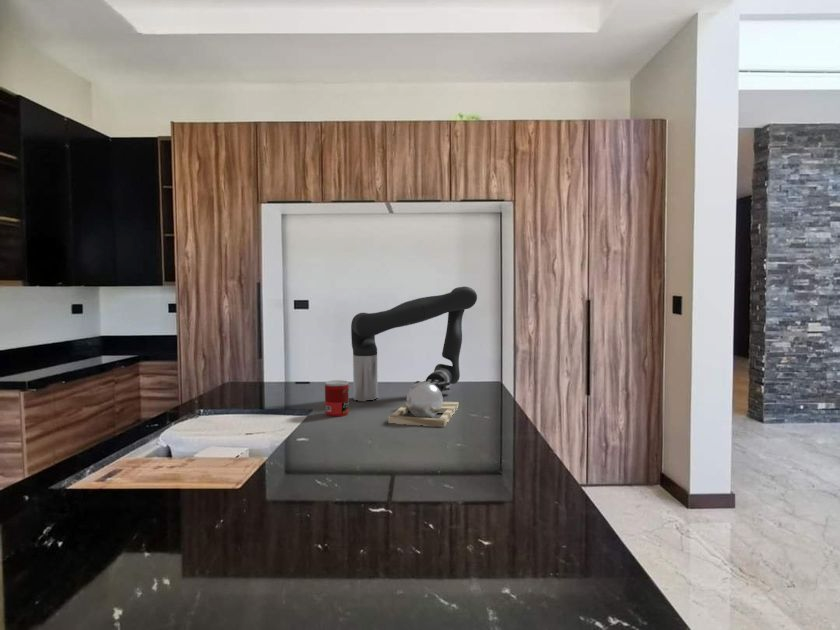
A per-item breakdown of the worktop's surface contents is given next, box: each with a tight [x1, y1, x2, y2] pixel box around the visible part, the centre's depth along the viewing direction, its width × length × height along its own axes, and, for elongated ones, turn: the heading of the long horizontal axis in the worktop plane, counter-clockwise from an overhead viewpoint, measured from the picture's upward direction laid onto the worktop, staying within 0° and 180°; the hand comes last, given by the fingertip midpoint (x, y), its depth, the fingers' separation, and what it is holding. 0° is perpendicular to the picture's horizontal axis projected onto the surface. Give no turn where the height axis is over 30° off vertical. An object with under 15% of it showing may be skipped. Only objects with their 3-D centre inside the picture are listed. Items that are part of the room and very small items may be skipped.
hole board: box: [387, 400, 460, 428], centre depth 174 cm, size 26×18×2 cm
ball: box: [405, 381, 444, 418], centre depth 170 cm, size 12×12×12 cm
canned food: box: [324, 379, 350, 418], centre depth 176 cm, size 8×8×11 cm
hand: (427, 390), depth 176 cm, fingers closed
